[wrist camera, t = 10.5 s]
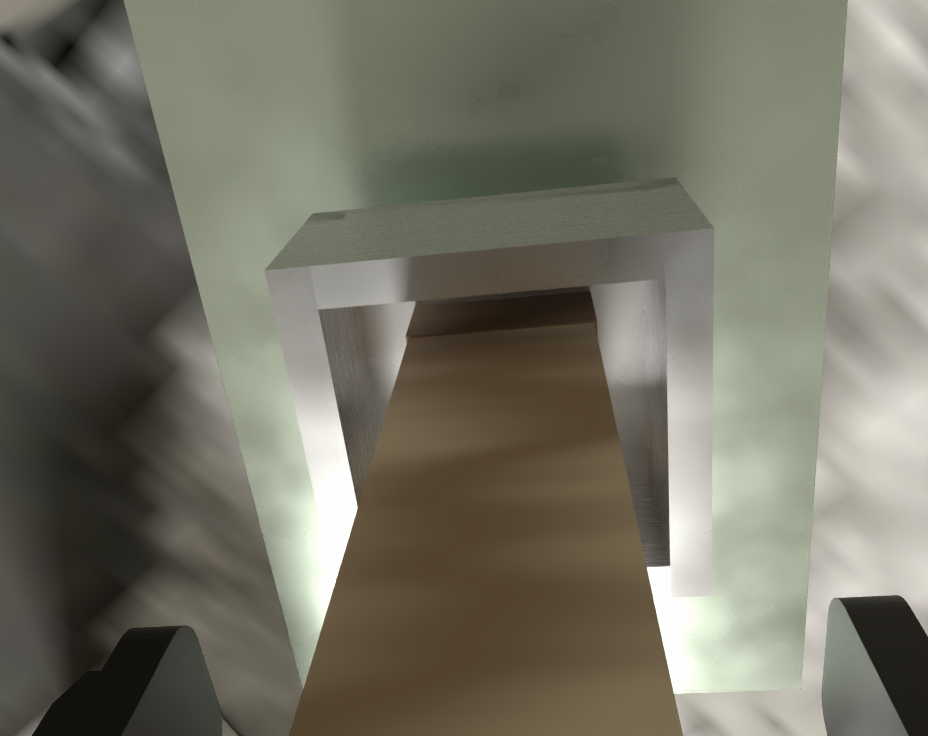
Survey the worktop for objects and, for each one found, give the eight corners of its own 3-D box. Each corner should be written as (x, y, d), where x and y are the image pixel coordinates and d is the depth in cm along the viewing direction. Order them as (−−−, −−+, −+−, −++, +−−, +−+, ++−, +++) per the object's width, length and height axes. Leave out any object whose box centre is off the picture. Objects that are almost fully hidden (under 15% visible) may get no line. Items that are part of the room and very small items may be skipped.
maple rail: (590, 290, 18) (704, 805, 7) (599, 445, 19) (705, 1065, 8) (414, 306, 18) (257, 817, 7) (437, 456, 20) (334, 1063, 9)
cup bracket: (834, -97, 19) (1033, -138, 12) (790, 660, 28) (884, 902, 21) (143, -7, 20) (-64, 6, 13) (315, 681, 29) (249, 912, 22)
